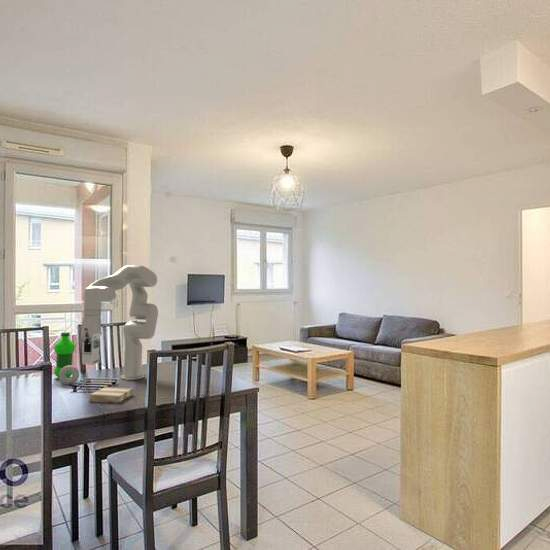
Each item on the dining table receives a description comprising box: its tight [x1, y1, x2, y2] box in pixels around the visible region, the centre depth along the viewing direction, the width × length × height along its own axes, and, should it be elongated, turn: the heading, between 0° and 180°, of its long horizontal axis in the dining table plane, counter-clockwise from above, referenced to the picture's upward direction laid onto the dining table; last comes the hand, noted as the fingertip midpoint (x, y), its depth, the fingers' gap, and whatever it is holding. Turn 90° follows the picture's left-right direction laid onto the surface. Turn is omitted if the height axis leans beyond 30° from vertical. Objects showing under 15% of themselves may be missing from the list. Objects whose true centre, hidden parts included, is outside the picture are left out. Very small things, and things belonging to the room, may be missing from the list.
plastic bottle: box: [53, 331, 76, 379], centre depth 232 cm, size 10×10×25 cm
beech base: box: [88, 386, 134, 404], centre depth 196 cm, size 14×14×3 cm
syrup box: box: [81, 333, 101, 366], centre depth 199 cm, size 6×6×14 cm
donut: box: [58, 365, 80, 385], centre depth 218 cm, size 10×4×10 cm, turn 98°
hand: (91, 350), depth 199 cm, fingers closed on syrup box, 6 cm apart
